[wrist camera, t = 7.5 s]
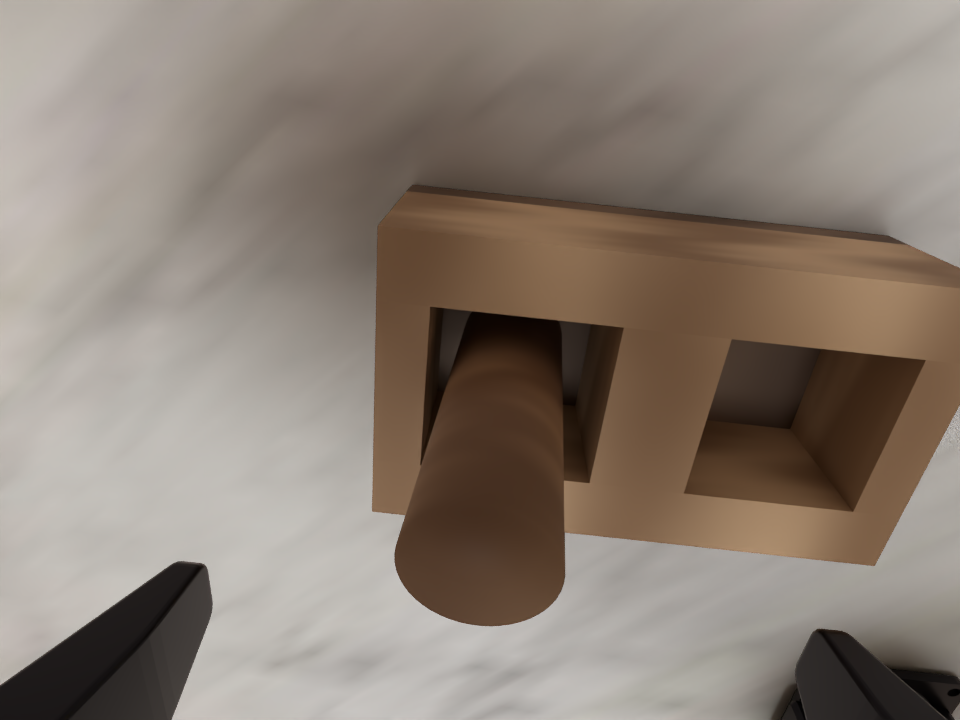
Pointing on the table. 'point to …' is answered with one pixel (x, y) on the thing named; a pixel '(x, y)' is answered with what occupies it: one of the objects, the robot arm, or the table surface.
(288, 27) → the table surface
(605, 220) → the bore block
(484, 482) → the dowel
